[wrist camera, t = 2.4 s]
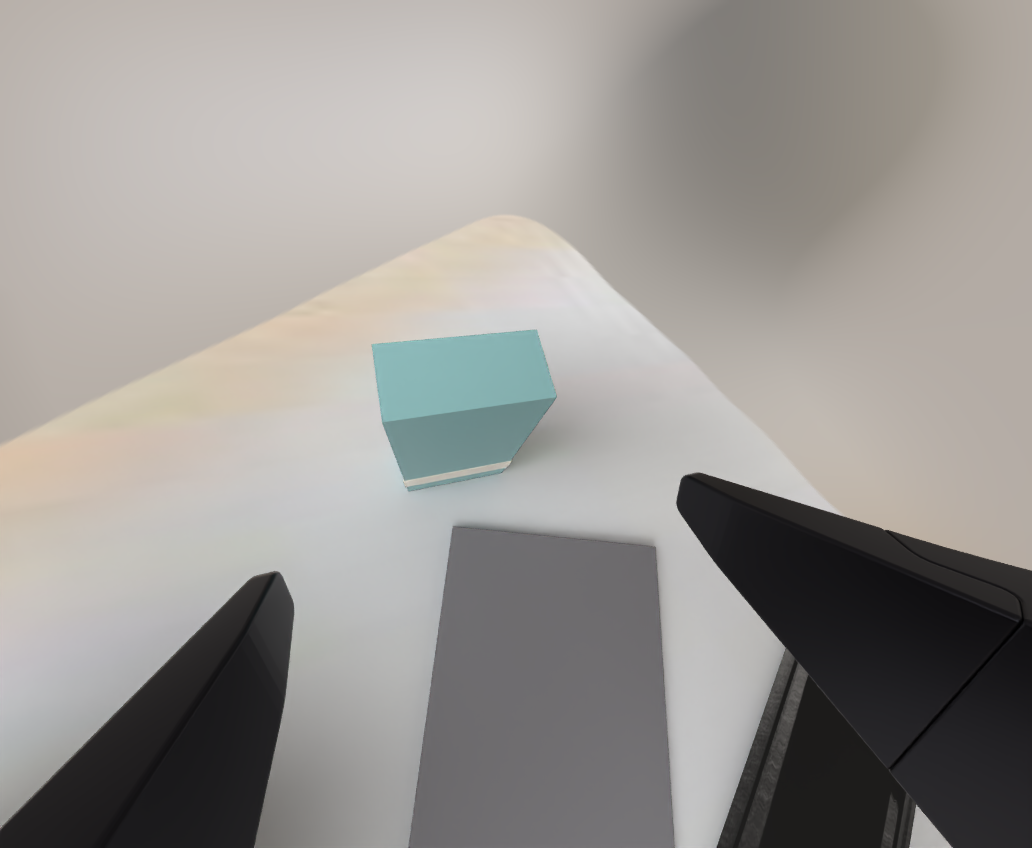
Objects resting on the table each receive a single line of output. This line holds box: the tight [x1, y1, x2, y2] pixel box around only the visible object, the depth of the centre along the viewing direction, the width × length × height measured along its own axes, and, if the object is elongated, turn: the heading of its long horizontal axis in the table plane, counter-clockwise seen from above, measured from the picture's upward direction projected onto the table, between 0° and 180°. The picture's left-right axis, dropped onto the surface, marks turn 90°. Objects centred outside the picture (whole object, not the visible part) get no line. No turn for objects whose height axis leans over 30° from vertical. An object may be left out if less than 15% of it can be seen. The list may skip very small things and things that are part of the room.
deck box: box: [372, 330, 557, 491], centre depth 15 cm, size 2×5×10 cm, turn 103°
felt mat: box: [409, 527, 674, 848], centre depth 17 cm, size 13×11×1 cm
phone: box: [717, 649, 916, 848], centre depth 17 cm, size 8×1×15 cm
